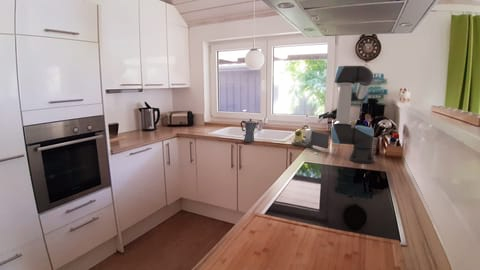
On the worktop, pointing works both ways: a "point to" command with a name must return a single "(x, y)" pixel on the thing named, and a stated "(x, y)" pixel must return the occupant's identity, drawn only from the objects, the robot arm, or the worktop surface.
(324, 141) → the grey white box
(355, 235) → the worktop surface
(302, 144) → the pale yellow rounded lump
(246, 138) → the moka pot
